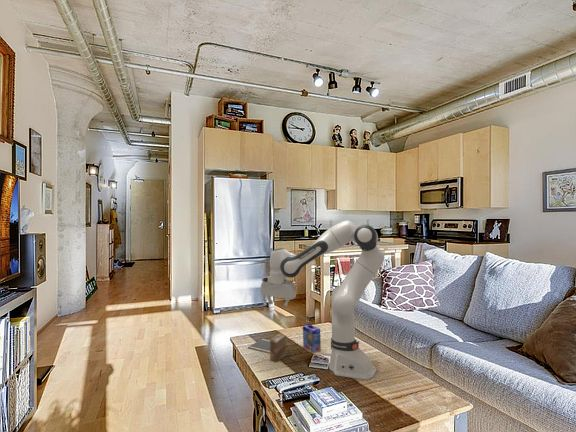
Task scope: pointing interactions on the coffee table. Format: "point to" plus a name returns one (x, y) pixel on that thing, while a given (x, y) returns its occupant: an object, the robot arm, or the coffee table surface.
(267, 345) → the mat
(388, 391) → the coffee table surface
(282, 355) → the slab
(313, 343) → the ink cartridge box
